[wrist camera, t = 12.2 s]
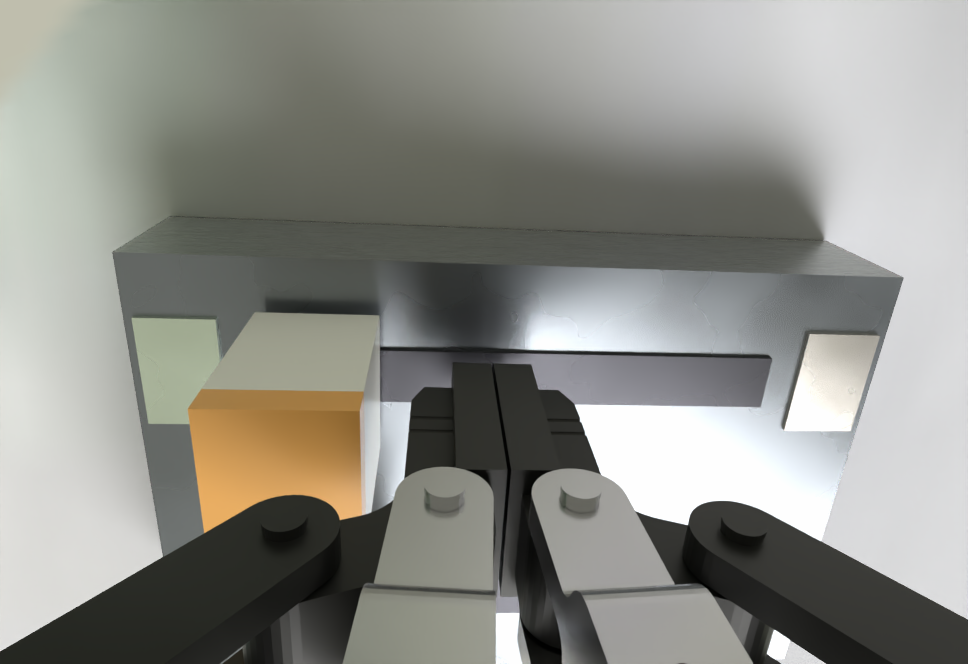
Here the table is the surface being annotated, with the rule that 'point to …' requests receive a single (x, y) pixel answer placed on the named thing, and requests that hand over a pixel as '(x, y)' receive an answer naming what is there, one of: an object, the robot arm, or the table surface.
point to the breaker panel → (539, 348)
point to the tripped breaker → (290, 415)
